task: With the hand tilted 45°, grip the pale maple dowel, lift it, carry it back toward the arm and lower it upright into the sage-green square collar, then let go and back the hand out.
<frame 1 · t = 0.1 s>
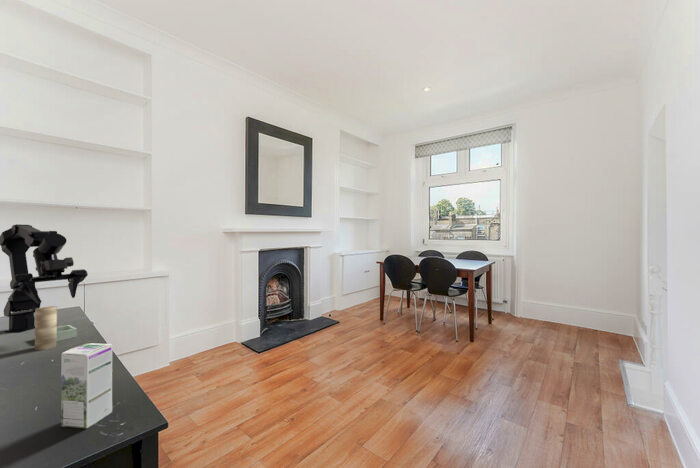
hand: (56, 299, 102), 15 cm above the table, tool tilted 35°, fingers open, 9 cm apart
maple dowel: (45, 347, 97), on the table
syrup box: (87, 420, 59), on the table
sage collar: (57, 337, 106), on the table
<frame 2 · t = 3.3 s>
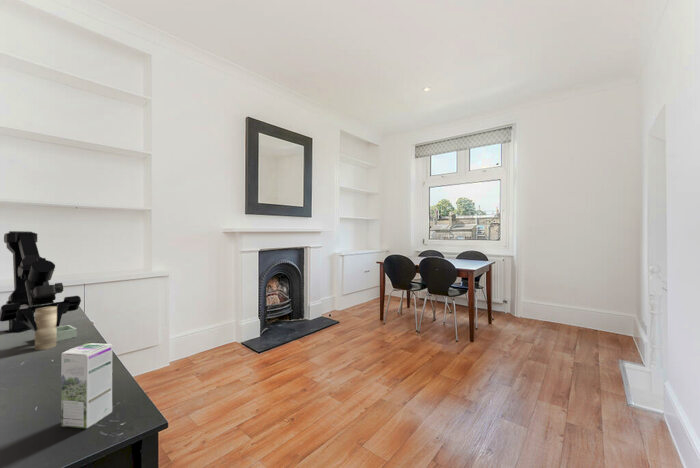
hand: (47, 328, 97), 7 cm above the table, tool tilted 45°, fingers closed on maple dowel, 5 cm apart
maple dowel: (45, 347, 97), on the table, touching gripper
everything else where it was.
when the fingers open (8 cm above the table, at t = 8.4 s): maple dowel drops 1 cm, resting in sage collar.
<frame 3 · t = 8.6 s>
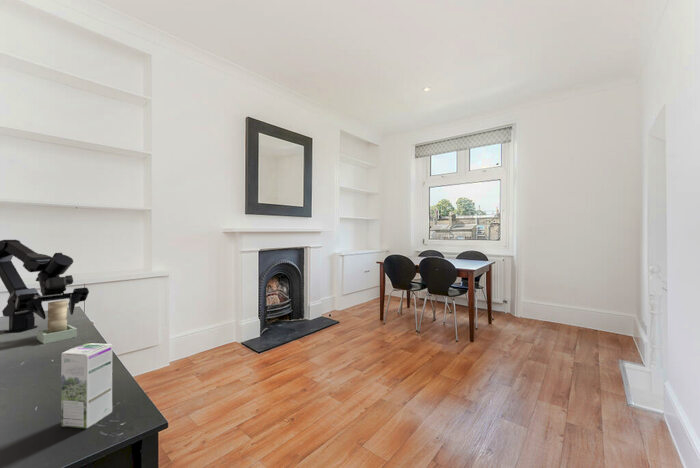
hand: (58, 316, 106), 8 cm above the table, tool tilted 45°, fingers open, 7 cm apart
maple dowel: (57, 338, 106), resting in sage collar
everything else where it was.
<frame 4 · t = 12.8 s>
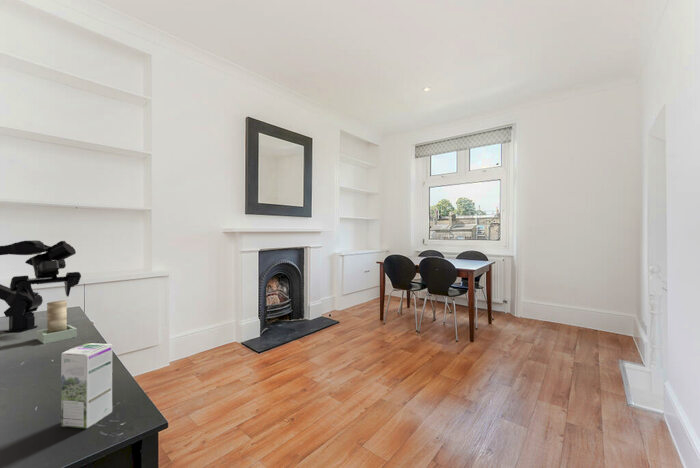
hand: (51, 297, 111), 14 cm above the table, tool tilted 45°, fingers open, 9 cm apart
nothing on the table moved.
at the end: maple dowel 0.0 cm off-centre on the sage collar, point 0.0 cm above the sage collar's base; maple dowel tilted 1°; the gripper is holding nothing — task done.
